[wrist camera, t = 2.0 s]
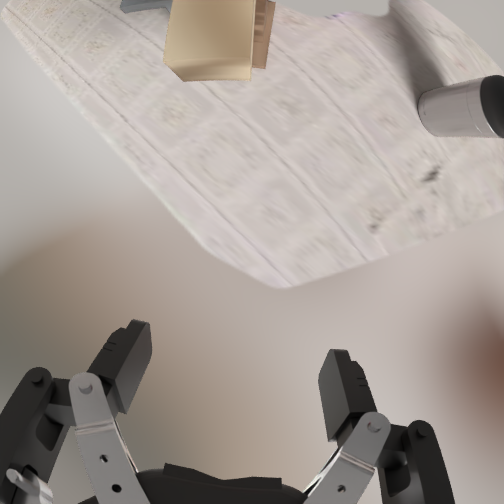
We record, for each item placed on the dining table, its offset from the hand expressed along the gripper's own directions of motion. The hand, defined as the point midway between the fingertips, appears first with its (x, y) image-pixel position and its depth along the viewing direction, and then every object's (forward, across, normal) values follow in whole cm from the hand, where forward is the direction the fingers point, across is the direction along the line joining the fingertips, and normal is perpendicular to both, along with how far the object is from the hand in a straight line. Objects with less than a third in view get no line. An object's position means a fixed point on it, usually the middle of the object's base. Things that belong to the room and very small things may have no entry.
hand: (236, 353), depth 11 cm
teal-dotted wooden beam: (+4, +4, -24) cm, 24 cm away
